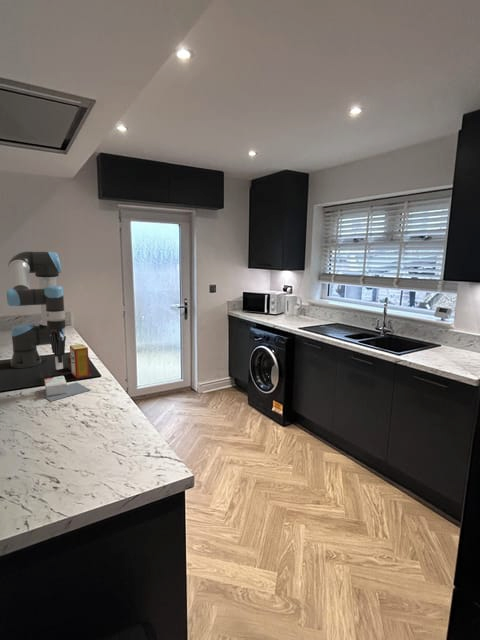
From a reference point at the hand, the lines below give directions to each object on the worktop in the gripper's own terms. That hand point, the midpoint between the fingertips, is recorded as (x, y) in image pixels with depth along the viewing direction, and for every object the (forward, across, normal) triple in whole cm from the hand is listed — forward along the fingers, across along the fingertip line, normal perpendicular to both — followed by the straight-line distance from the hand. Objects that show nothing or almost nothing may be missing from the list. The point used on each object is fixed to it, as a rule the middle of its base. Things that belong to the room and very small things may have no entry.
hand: (59, 368), depth 166 cm
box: (+11, -25, +19) cm, 33 cm away
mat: (+10, +4, 0) cm, 11 cm away
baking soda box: (+11, -14, +16) cm, 24 cm away
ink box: (+8, -5, -1) cm, 9 cm away
